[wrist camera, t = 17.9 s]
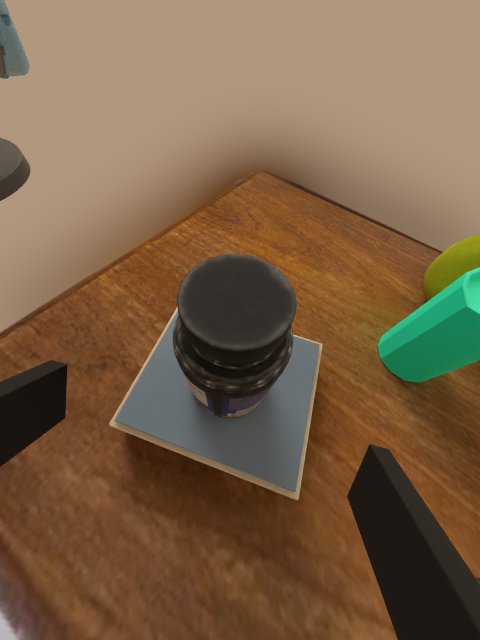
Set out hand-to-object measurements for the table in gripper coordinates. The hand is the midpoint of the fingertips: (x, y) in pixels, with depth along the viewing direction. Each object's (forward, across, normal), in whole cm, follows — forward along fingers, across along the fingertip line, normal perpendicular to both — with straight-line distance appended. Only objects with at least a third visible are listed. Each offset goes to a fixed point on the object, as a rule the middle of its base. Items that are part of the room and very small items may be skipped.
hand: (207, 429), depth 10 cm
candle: (+17, +18, +1) cm, 25 cm away
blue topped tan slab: (+11, 0, -5) cm, 12 cm away
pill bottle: (+8, 0, -2) cm, 9 cm away
